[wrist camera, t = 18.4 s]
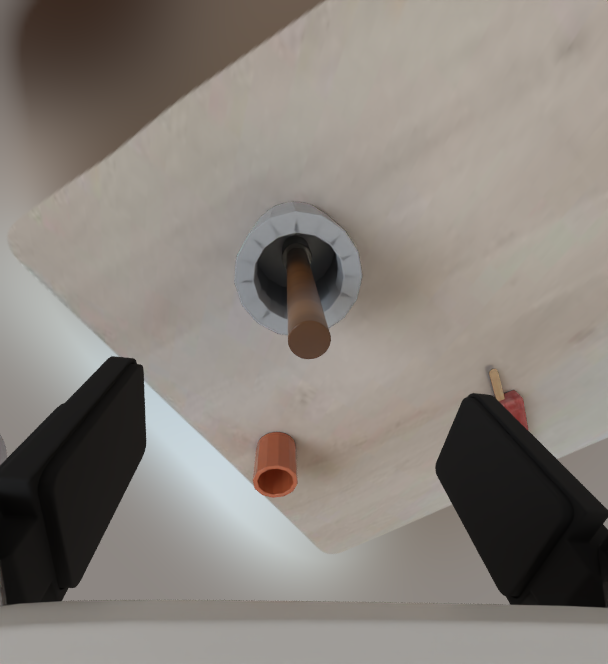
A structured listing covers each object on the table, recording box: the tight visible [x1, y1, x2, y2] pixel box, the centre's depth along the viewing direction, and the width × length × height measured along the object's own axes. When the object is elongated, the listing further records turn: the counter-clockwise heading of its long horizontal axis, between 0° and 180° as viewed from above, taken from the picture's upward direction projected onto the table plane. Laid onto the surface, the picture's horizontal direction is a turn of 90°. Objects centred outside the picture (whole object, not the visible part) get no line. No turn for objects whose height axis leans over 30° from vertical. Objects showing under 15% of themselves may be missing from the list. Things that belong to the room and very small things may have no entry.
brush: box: [282, 236, 331, 359], centre depth 23 cm, size 3×3×20 cm
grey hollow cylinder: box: [235, 201, 362, 335], centre depth 28 cm, size 9×9×11 cm
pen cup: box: [253, 432, 298, 498], centre depth 41 cm, size 5×5×6 cm
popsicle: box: [489, 369, 528, 430], centre depth 42 cm, size 4×2×15 cm
